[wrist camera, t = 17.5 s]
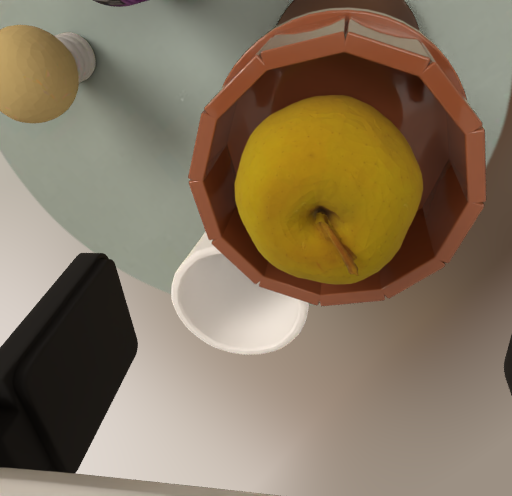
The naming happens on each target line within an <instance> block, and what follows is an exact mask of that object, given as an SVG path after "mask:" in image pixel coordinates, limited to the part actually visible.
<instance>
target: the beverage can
mask: <svg viewBox="0 0 512 496" xmlns="http://www.w3.org/2000/svg"><path fill="white" fill-rule="evenodd" d="M93 1H96V2H98V3H101V4H104V5H108V6H117V7H121V6H130V5H134V4H137V3H141V2H144V1H148V0H93Z"/></svg>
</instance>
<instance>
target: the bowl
mask: <svg viewBox="0 0 512 496" xmlns="http://www.w3.org/2000/svg"><path fill="white" fill-rule="evenodd" d="M325 95H345V96H350V97H353V98H355V99H358V100H360V101H362V102H364V103H367V104H369V105H371V106H372V107H374V108H375V109H376V110H378V111H379V112H380V113H381V114H382V115H384V116H385V117H386V118H387V119H389V120H390V121H391V122H392V123H393V124H394V125H395V126H396V127H397V129H398V130H399V131H400V132H401V133H402V135H403V136H404V137H405V139H406V140H407V142H408V144H409V145H410V147H411V149H412V151H413V154H414V156H415V158H416V160H417V162H418V165H419V168H420V171H421V173H422V179H423V192H422V197H421V201H420V204H419V207H418V210H417V212H416V215H415V217H414V219H413V221H412V223H411V225H410V227H409V229H408V231H407V233H406V236H405V238H404V240H403V242H402V245H401V247H400V249H399V250H398V252H397V253H396V254H395V256H394V257H393V258H392V259H391V261H390V262H388V263H387V264H386V265H385V266H384V267H383V268H382V269H381V270H380V271H378V272H377V273H375V274H373V275H371V276H369V277H367V278H365V279H364V280H361V281H359V282H356V283H352V284H337V285H335V284H326V283H321V282H316V281H312V280H308V279H303V278H297V277H295V276H293V275H290V274H288V273H286V272H283V271H281V270H279V269H278V268H276V267H275V266H273V265H272V264H271V263H269V262H268V260H266V259H265V258H264V257H263V256H262V254H261V253H260V252H259V251H258V249H257V248H256V246H255V244H254V243H253V241H252V239H251V237H250V235H249V233H248V232H247V230H246V228H245V226H244V224H243V222H242V220H241V218H240V215H239V212H238V208H237V205H236V201H235V185H234V184H235V180H236V175H237V171H238V168H239V163H240V160H241V156H242V153H243V151H244V148H245V146H246V144H247V141H248V139H249V137H250V135H251V134H252V132H253V131H254V130H255V129H256V127H257V126H258V125H259V124H260V123H261V122H262V121H263V120H265V119H266V118H267V117H268V116H270V115H271V114H273V113H275V112H277V111H279V110H281V109H283V108H285V107H287V106H289V105H291V104H293V103H295V102H298V101H300V100H303V99H306V98H310V97H314V96H325ZM188 178H189V179H190V181H189V185H190V188H191V191H192V194H193V197H194V199H195V202H196V205H197V208H198V211H199V214H200V216H201V219H202V222H203V225H204V228H205V231H206V233H207V236H208V239H209V240H212V243H211V244H212V245H213V246H214V247H215V248H216V249H218V250H219V251H220V252H221V253H222V254H223V255H224V256H225V257H226V258H227V259H228V260H229V261H230V262H232V263H233V264H234V265H235V266H236V267H237V268H238V269H239V270H240V271H241V272H242V273H243V274H245V275H246V276H247V277H248V278H249V279H250V280H251V281H252V282H253V283H254V284H257V283H259V287H262V288H265V289H268V290H271V291H274V292H277V293H280V294H283V295H286V296H289V297H292V298H295V299H298V300H301V301H304V302H308V303H311V304H314V305H318V304H319V302H320V305H321V306H329V305H340V304H351V303H362V302H373V301H383V300H385V296H386V297H387V298H391V297H393V296H395V295H396V294H398V293H400V292H401V291H403V290H405V289H407V288H408V287H410V286H412V285H414V284H415V283H417V282H419V281H421V280H423V279H424V278H426V277H428V276H430V275H431V274H433V273H435V272H436V271H438V270H440V269H442V268H444V267H445V263H449V262H450V260H451V259H452V257H453V256H454V254H455V252H456V251H457V249H458V248H459V246H460V244H461V243H462V241H463V240H464V238H465V236H466V235H467V233H468V231H469V230H470V229H471V227H472V225H473V224H474V222H475V220H476V219H477V217H478V216H479V214H480V213H481V211H482V209H483V208H484V204H483V202H485V201H486V165H485V130H484V128H483V127H482V122H481V120H480V119H479V118H478V116H477V115H476V113H475V112H474V110H473V109H472V108H471V106H470V105H469V103H468V102H467V99H466V95H465V91H464V89H463V87H462V84H461V82H460V80H459V77H458V75H457V73H456V72H455V70H454V69H453V67H452V66H451V64H450V62H449V61H448V59H447V58H446V57H445V55H444V54H443V53H442V52H441V51H440V50H439V49H438V48H437V46H436V45H435V44H434V43H433V42H432V41H431V40H429V39H428V38H427V37H426V36H425V35H423V34H422V33H421V32H420V31H419V30H417V29H415V28H414V27H412V26H410V25H409V24H407V23H405V22H404V21H402V20H399V19H397V18H394V17H392V16H389V15H387V14H384V13H380V12H376V11H372V10H368V9H359V8H329V9H324V10H318V11H313V12H309V13H306V14H303V15H300V16H297V17H294V18H292V19H290V20H288V21H286V22H284V23H282V24H280V25H278V26H276V27H275V28H273V29H272V30H271V31H269V32H268V33H266V34H265V35H263V36H262V37H261V38H260V39H259V40H257V41H256V42H255V43H254V44H253V45H252V46H251V47H250V48H249V49H248V50H247V51H246V52H245V53H244V54H243V55H242V57H241V58H240V59H239V60H238V61H237V63H236V64H235V65H234V67H233V68H232V70H231V72H230V73H229V75H228V76H227V78H226V80H225V82H224V84H223V86H222V88H221V90H220V91H219V92H218V93H217V94H216V95H215V96H214V98H213V99H212V100H211V101H210V102H209V103H208V104H207V105H206V106H205V108H204V111H203V112H202V114H201V117H200V122H199V127H198V132H197V137H196V142H195V146H194V151H193V156H192V161H191V166H190V170H189V175H188ZM444 262H445V263H444Z"/></svg>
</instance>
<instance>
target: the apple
mask: <svg viewBox="0 0 512 496" xmlns="http://www.w3.org/2000/svg"><path fill="white" fill-rule="evenodd" d="M234 185H235V201H236V205H237V208H238V212H239V215H240V218H241V220H242V222H243V224H244V226H245V228H246V230H247V232H248V233H249V235H250V237H251V239H252V241H253V243H254V244H255V246H256V248H257V249H258V251H259V252H260V253H261V254H262V256H263V257H264V258H265V259H266V260H268V262H269V263H271V264H272V265H273V266H275V267H276V268H278V269H279V270H281V271H283V272H286V273H288V274H290V275H293V276H295V277H297V278H303V279H308V280H312V281H316V282H321V283H326V284H335V285H337V284H352V283H356V282H359V281H361V280H364V279H365V278H367V277H369V276H371V275H373V274H375V273H377V272H378V271H380V270H381V269H382V268H383V267H384V266H385V265H386V264H387V263H388V262H390V261H391V259H392V258H393V257H394V256H395V254H396V253H397V252H398V250H399V249H400V247H401V245H402V242H403V240H404V238H405V236H406V233H407V231H408V229H409V227H410V225H411V223H412V221H413V219H414V217H415V215H416V212H417V210H418V207H419V204H420V201H421V197H422V192H423V179H422V173H421V171H420V168H419V165H418V162H417V160H416V158H415V156H414V154H413V151H412V149H411V147H410V145H409V144H408V142H407V140H406V139H405V137H404V136H403V135H402V133H401V132H400V131H399V130H398V129H397V127H396V126H395V125H394V124H393V123H392V122H391V121H390V120H389V119H387V118H386V117H385V116H384V115H382V114H381V113H380V112H379V111H378V110H376V109H375V108H374V107H372V106H371V105H369V104H367V103H364V102H362V101H360V100H358V99H355V98H353V97H350V96H345V95H325V96H314V97H310V98H306V99H303V100H300V101H298V102H295V103H293V104H291V105H289V106H287V107H285V108H283V109H281V110H279V111H277V112H275V113H273V114H271V115H270V116H268V117H267V118H266V119H265V120H263V121H262V122H261V123H260V124H259V125H258V126H257V127H256V129H255V130H254V131H253V132H252V134H251V135H250V137H249V139H248V141H247V144H246V146H245V148H244V151H243V153H242V156H241V160H240V163H239V168H238V171H237V175H236V180H235V184H234Z"/></svg>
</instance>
